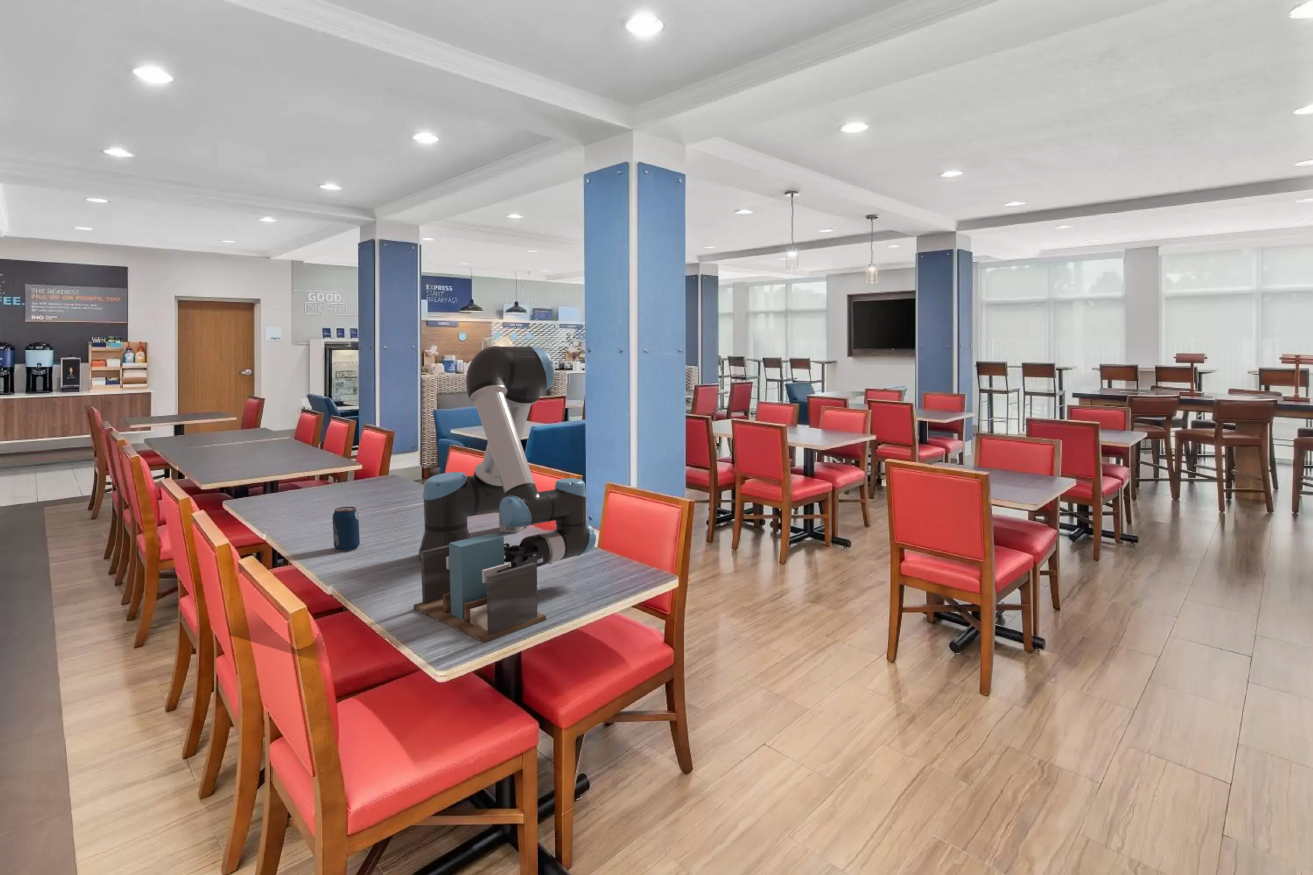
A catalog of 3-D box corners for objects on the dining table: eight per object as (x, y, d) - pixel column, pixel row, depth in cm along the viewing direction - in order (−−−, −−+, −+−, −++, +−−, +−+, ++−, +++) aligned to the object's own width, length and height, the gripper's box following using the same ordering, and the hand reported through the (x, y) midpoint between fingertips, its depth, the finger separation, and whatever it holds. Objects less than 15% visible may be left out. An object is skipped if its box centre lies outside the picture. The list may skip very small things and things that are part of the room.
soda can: (364, 545, 204) (362, 506, 203) (352, 552, 197) (350, 511, 196) (342, 545, 205) (340, 505, 203) (329, 551, 198) (327, 511, 197)
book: (450, 614, 149) (449, 542, 147) (492, 600, 157) (491, 533, 156) (462, 619, 146) (460, 546, 144) (504, 605, 155) (503, 536, 153)
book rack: (413, 608, 155) (411, 553, 153) (474, 590, 167) (472, 538, 165) (484, 642, 137) (482, 579, 136) (545, 619, 149) (545, 562, 148)
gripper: (576, 575, 157) (499, 600, 141) (509, 554, 173) (434, 573, 157) (576, 543, 156) (499, 564, 140) (509, 525, 172) (433, 542, 156)
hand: (464, 569), depth 148 cm, fingers open, 13 cm apart
